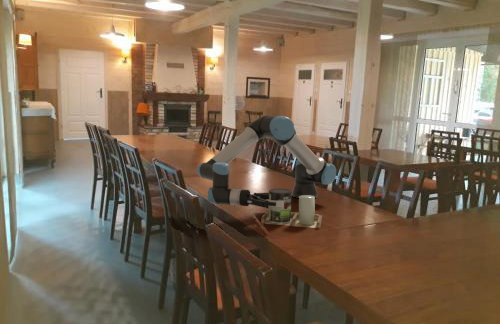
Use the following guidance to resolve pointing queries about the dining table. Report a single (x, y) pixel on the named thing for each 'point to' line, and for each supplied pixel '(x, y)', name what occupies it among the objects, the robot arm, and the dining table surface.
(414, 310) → the dining table surface
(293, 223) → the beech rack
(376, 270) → the dining table surface
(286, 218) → the coffee can
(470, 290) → the dining table surface
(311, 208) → the sage jar
